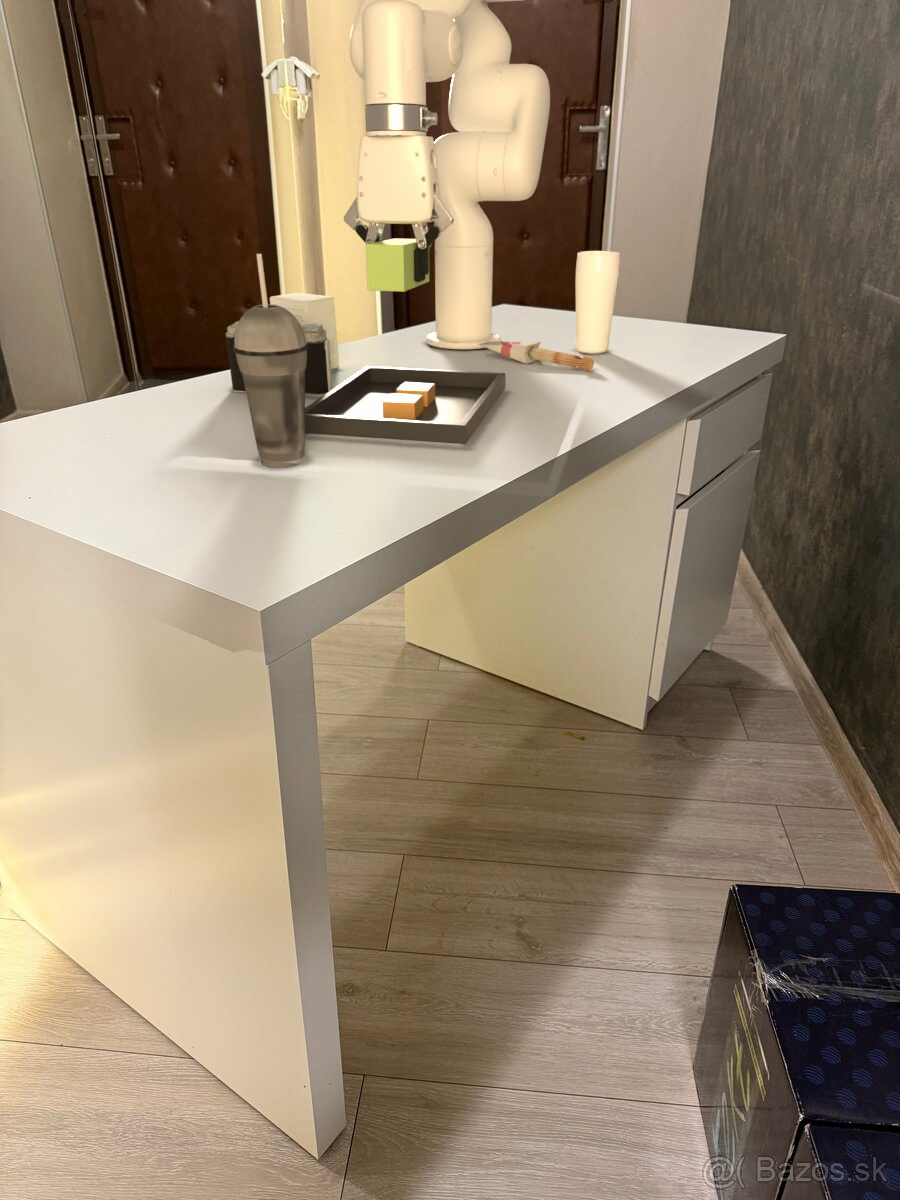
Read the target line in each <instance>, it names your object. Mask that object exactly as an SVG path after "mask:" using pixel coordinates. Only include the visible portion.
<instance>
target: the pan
mask: <svg viewBox="0 0 900 1200" xmlns="http://www.w3.org/2000/svg"><path fill="white" fill-rule="evenodd" d="M506 375H507V374H506V373H505V372H490V371H472V370H471V371H469V370H451V369H450V370H449V369H429V368H413V367H412V368H411V367H409V368H408V367H392V366H369V365H366V366H365V367H363V368H362V369H360V370H359V371H357V372H355V373H354V374H353V375H351V376H350V377H348V378H347V379H345V380H344V381H342V382H341V383H339V384H338V385H337V386H335V387H334V388H332V390H331V391H329V392H327V393H324V394H322V396H321V397H319V398H317V399H316V400H314V401H313V402H311V403H310V404H308V405H307V406H305V434H309V435H310V434H311V435H324V436H325V435H326V436H327V435H328V436H339V437H340V436H342V437H354V438H355V437H357V438H369V439H384V440H399V441H400V440H401V441H411V442H412V441H414V442H427V443H443V444H455V445H456V444H457V445H466V444H467V443H468V441H469V440H470V438H471V437H472V436H473V434H474V433H475V431H476V430H477V429H478V427H479V425H480V424H481V423H482V422H483V420H484V419H485V417H486V416H487V415H488V413H489V412H490V410H491V409H492V407H494V405H495V404H496V402H497V401H498V399H499V398H500V397H501V395H502V394H503V393H504V391H505V389H506ZM405 382H414V383H433V384H435V400H434V401H433V402H432V403H431V404H430V405H429V406H428V407H423V412H422V413H421V414H420V415H419V416H418V417H417V418H416V419H415V420H409V419H393V418H383V414H382V401H383V400H384V399H385V398H387V397H388V396H389V395H390V394H391V393H396V389H397V388H399V387H400V386H401V385H402V384H403V383H405ZM396 394H397V393H396Z"/></svg>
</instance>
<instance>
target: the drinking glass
mask: <svg viewBox="0 0 900 1200" xmlns="http://www.w3.org/2000/svg"><path fill="white" fill-rule="evenodd" d="M620 266H621V253H620V252H619V251H611V250H610V251H609V250H585V251H584V250H583V251H578V252H577V257H576V264H575V277H574V278H575V282H574V286H575V289H574V290H575V345H574V347H575V349H576V351H577V352H579V353H582V354H590V355H593V354H594V355H595V354H597V355H599V354H604V353H606V352H607V351H608V350H609V344H610V343H609V342H610V334H611V329H612V328H611V327H612V321H613V315H614V311H615V310H614V309H615V304H616V299H617V293H618V285H619V279H620V278H619V277H620V270H621V269H620V268H621V267H620Z"/></svg>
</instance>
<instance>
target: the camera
mask: <svg viewBox="0 0 900 1200" xmlns="http://www.w3.org/2000/svg"><path fill="white" fill-rule="evenodd" d="M238 322H239V320H237V321H234V323H231V325H228V326H227V327H226V331H227V332H226V333H225V338H226V347H227V353H228V362H229V363H228V364H229V369H230V379H231V386H232V391H233V392H237V393H246V390H245V385H244V380H243V375H242V372H241V371H240V368H239V365H238V362H237V357H236V353H235V352H234V350H233V349H234V345H235V343H234V337H235V331H236V327H237V325H238ZM302 329H303V331H304V334H305V337H306V343H307V344H308V349H307V364H306V369H305V394H309V395H324V394H326V393H328V392H329V391H331V390H332V389H333V378H332V377H333V376H332V369H331V360H330V346H329V340H327V338H326V329H323V325H321V324H306V325H303V326H302Z"/></svg>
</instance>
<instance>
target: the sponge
mask: <svg viewBox="0 0 900 1200" xmlns="http://www.w3.org/2000/svg"><path fill="white" fill-rule="evenodd" d="M416 244H417V241H416V238H397V237H396V238H390V239H385V240H381V241H380V242H375V243H370V244H366V243H365V263H366V264H365V265H366V285H367V286H366V288H367V290H366V291H370V292H371V291H372V292H373V291H374V292H397V293H400V292H401V293H405V292H407V291H409V290H413V289H414V288H417V287H419V286H422V285H424V284H427V283H429V282H430V272H429V273H428V274H427V275H425V280H423V281H421V282H416V281H415V280H414V250H415V249H416Z"/></svg>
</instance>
